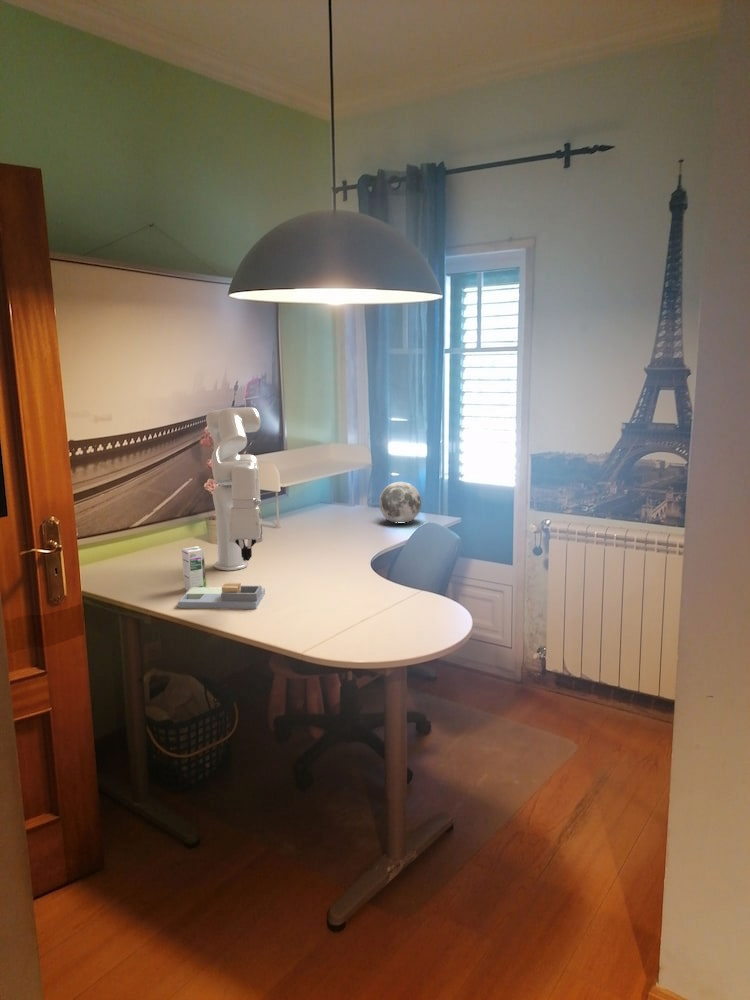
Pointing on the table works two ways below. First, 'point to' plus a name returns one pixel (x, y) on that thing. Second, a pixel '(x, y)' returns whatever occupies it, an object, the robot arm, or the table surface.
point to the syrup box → (193, 567)
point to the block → (231, 588)
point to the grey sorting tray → (222, 598)
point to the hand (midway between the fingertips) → (246, 559)
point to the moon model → (400, 502)
